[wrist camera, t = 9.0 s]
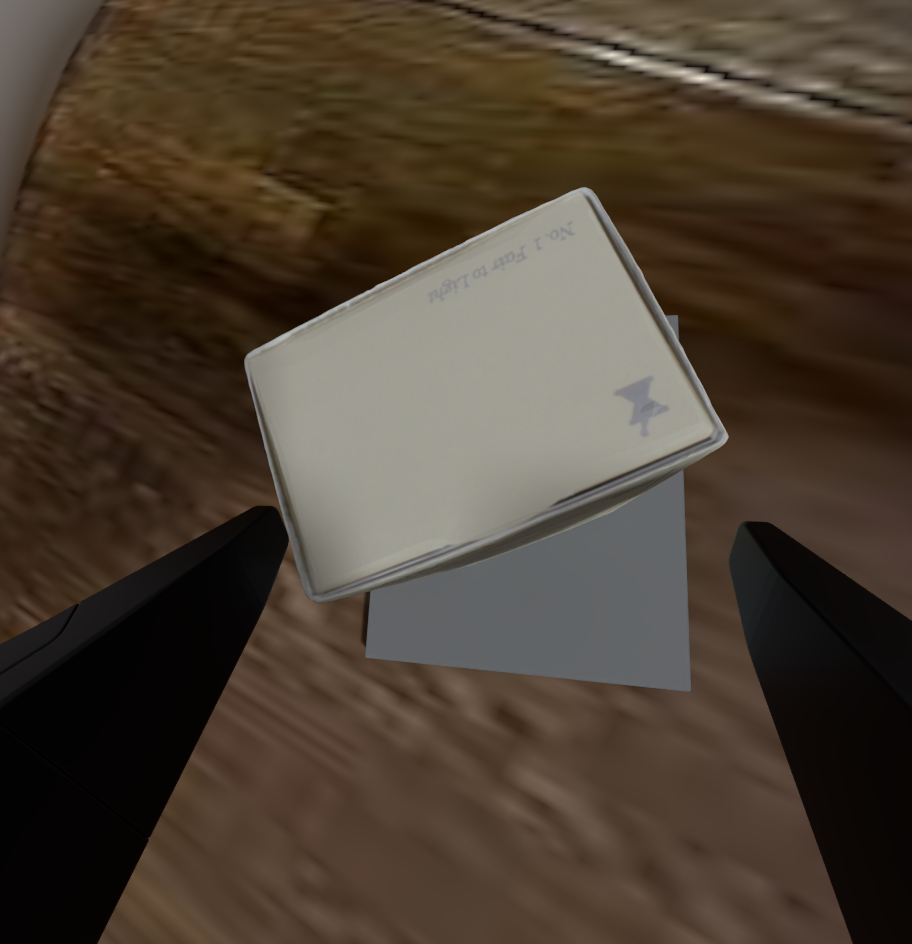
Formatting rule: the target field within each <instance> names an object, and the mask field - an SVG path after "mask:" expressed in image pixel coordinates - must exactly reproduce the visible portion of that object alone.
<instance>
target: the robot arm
mask: <svg viewBox="0 0 912 944" xmlns="http://www.w3.org/2000/svg"><path fill="white" fill-rule="evenodd" d="M288 542H289V537H288V533H287V530H286V528H285V526H284V523H283V521H282V518H281V516H280V514H279V511H278V510H277V509H276V508H275V507H273V506H255V507H253V508H251V509H249V510H247V511H245V512H244V513H242V514H240V515H238V516H236V517H234V518H233V519H231V520H229V521H227V522H225V523H224V524H222V525H220V526H218V527H216V528H214V529H213V530H211V531H209V532H207V533H205V534H203V535H202V536H200V537H198V538H196V539H194V540H192V541H191V542H189V543H187V544H185V545H183V546H182V547H180V548H178V549H176V550H174V551H172V552H171V553H169V554H167V555H165V556H163V557H161V558H160V559H158V560H156V561H154V562H152V563H151V564H149V565H147V566H145V567H143V568H141V569H140V570H138V571H136V572H134V573H132V574H130V575H129V576H127V577H125V578H123V579H121V580H119V581H118V582H116V583H114V584H112V585H110V586H109V587H107V588H105V589H103V590H101V591H99V592H98V593H96V594H94V595H92V596H90V597H88V598H87V599H85V600H83V601H81V602H80V604H76V605H74V606H72V607H70V608H68V609H66V610H65V611H63V612H61V613H59V614H57V615H55V616H54V617H52V618H50V619H48V620H46V621H44V622H42V623H40V624H39V625H37V626H35V627H33V628H31V629H29V630H27V631H25V632H24V633H22V634H20V635H18V636H16V637H14V638H12V639H10V640H8V641H6V642H4V643H2V644H0V944H97V943H98V941H99V939H100V937H101V935H102V933H103V931H104V929H105V927H106V925H107V923H108V921H109V919H110V917H111V915H112V913H113V911H114V909H115V907H116V905H117V903H118V901H119V899H120V897H121V895H122V893H123V891H124V889H125V887H126V885H127V883H128V881H129V879H130V877H131V875H132V873H133V871H134V869H135V867H136V865H137V863H138V861H139V859H140V857H141V855H142V853H143V851H144V849H145V847H146V845H147V843H148V841H149V839H148V838H149V837H150V836H151V834H152V832H153V830H154V828H155V826H156V824H157V822H158V820H159V818H160V816H161V814H162V812H163V810H164V808H165V806H166V804H167V802H168V800H169V798H170V796H171V794H172V792H173V790H174V788H175V786H176V784H177V782H178V780H179V778H180V776H181V774H182V772H183V770H184V768H185V766H186V764H187V762H188V760H189V758H190V756H191V754H192V752H193V750H194V748H195V746H196V744H197V742H198V740H199V738H200V736H201V734H202V732H203V730H204V728H205V726H206V724H207V722H208V720H209V718H210V716H211V714H212V712H213V710H214V708H215V706H216V704H217V702H218V700H219V698H220V696H221V694H222V692H223V690H224V688H225V686H226V684H227V682H228V680H229V678H230V676H231V674H232V672H233V670H234V668H235V666H236V664H237V662H238V660H239V658H240V656H241V654H242V652H243V650H244V648H245V646H246V644H247V642H248V640H249V638H250V636H251V634H252V632H253V630H254V628H255V626H256V624H257V622H258V620H259V618H260V616H261V613H262V611H263V609H264V607H265V604H266V602H267V600H268V597H269V595H270V592H271V589H272V587H273V584H274V581H275V579H276V576H277V573H278V571H279V568H280V565H281V563H282V560H283V557H284V555H285V552H286V550H287V547H288ZM729 567H730V572H731V577H732V581H733V586H734V590H735V595H736V599H737V604H738V608H739V612H740V617H741V621H742V626H743V630H744V635H745V639H746V643H747V647H748V650H749V653H750V656H751V659H752V662H753V665H754V668H755V671H756V674H757V677H758V679H759V682H760V685H761V688H762V691H763V693H764V696H765V699H766V702H767V705H768V707H769V710H770V713H771V716H772V719H773V721H774V724H775V727H776V730H777V733H778V735H779V738H780V741H781V744H782V747H783V749H784V752H785V755H786V758H787V761H788V763H789V766H790V769H791V772H792V775H793V777H794V780H795V783H796V786H797V789H798V791H799V794H800V797H801V800H802V803H803V805H804V808H805V811H806V814H807V817H808V819H809V822H810V825H811V828H812V831H813V833H814V836H815V839H816V842H817V845H818V847H819V850H820V853H821V856H822V859H823V861H824V864H825V867H826V870H827V873H828V875H829V878H830V881H831V884H832V887H833V889H834V892H835V895H836V898H837V901H838V903H839V906H840V909H841V912H842V915H843V918H844V920H845V923H846V926H847V929H848V932H849V934H850V937H851V940H852V943H853V944H912V621H911V620H910V619H908V618H907V617H905V616H904V615H903V614H901V613H900V612H898V611H897V610H895V609H894V608H892V607H891V606H890V605H888V604H887V603H885V602H884V601H882V600H881V599H879V598H878V597H877V596H875V595H874V594H872V593H871V592H869V591H868V590H866V589H865V588H864V587H862V586H861V585H859V584H858V583H856V582H855V581H853V580H852V579H851V578H849V577H848V576H846V575H845V574H843V573H842V572H841V571H839V570H838V569H836V568H835V567H833V566H832V565H830V564H829V563H828V562H826V561H825V560H823V559H822V558H820V557H819V556H817V555H816V554H815V553H813V552H812V551H810V550H809V549H807V548H806V547H804V546H803V545H802V544H800V543H799V542H797V541H796V540H794V539H793V538H791V537H790V536H789V535H787V534H786V533H784V532H783V531H781V530H780V529H779V528H777V527H776V526H774V525H773V524H771V523H768V522H752V521H745V522H743V523H741V524H740V526H739V528H738V531H737V534H736V537H735V540H734V543H733V547H732V550H731V553H730V558H729Z"/></svg>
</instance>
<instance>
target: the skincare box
mask: <svg viewBox="0 0 912 944" xmlns="http://www.w3.org/2000/svg"><path fill="white" fill-rule="evenodd" d="M244 363H245V370H246V374H247V378H248V382H249V386H250V390H251V393H252V397H253V401H254V405H255V409H256V413H257V418H258V422H259V426H260V430H261V433H262V437H263V441H264V446H265V450H266V453H267V457H268V462H269V466H270V470H271V473H272V476H273V479H274V484H275V488H276V492H277V496H278V500H279V504H280V508H281V511H282V515H283V519H284V522H285V525H286V529H287V532H288V536H289V539H290V542H291V546H292V550H293V554H294V558H295V562H296V566H297V569H298V573H299V576H300V579H301V583H302V586H303V590H304V592H305V595H306V596H307V597H308V598H309V599H310V600H312V601H315V602H317V603H324V602H330V601H334V600H338V599H342V598H346V597H350V596H354V595H358V594H361V593H365V592H369V591H373V590H376V589H380V588H384V587H388V586H392V585H396V584H400V583H404V582H407V581H411V580H415V579H419V578H422V577H426V576H430V575H434V574H438V573H442V572H446V571H450V570H454V569H458V568H462V567H466V566H470V565H474V564H476V563H479V562H482V561H485V560H488V559H491V558H493V557H496V556H499V555H502V554H505V553H508V552H511V551H513V550H516V549H519V548H521V547H524V546H527V545H530V544H532V543H535V542H538V541H540V540H543V539H546V538H548V537H551V536H554V535H556V534H559V533H562V532H564V531H567V530H569V529H572V528H574V527H577V526H580V525H582V524H585V523H587V522H589V521H592V520H594V519H597V518H599V517H602V516H604V515H607V514H609V513H611V512H613V511H615V510H616V509H618V508H620V507H621V506H623V505H625V504H627V503H628V502H630V501H632V500H633V499H635V498H636V497H638V496H640V495H641V494H643V493H645V492H646V491H648V490H650V489H651V488H653V487H655V486H656V485H658V484H660V483H661V482H663V481H665V480H667V479H668V478H670V477H672V476H673V475H675V474H676V473H678V472H680V471H681V470H683V469H685V468H686V467H688V466H690V465H692V464H693V463H695V462H697V461H698V460H700V459H701V458H703V457H705V456H706V455H708V454H709V453H711V452H713V451H714V450H716V449H718V448H720V447H721V446H722V445H723V444H725V442H726V441H727V439H728V437H729V436H728V434H727V432H726V430H725V428H724V427H723V425H722V423H721V421H720V419H719V418H718V416H717V414H716V413H715V411H714V409H713V407H712V405H711V403H710V401H709V398H708V396H707V394H706V392H705V390H704V388H703V386H702V384H701V382H700V381H699V379H698V377H697V375H696V373H695V371H694V369H693V367H692V366H691V364H690V362H689V361H688V359H687V356H686V354H685V352H684V350H683V348H682V346H681V345H680V343H679V342H678V339H677V337H676V335H675V332H674V330H673V329H672V327H671V326H670V324H669V322H668V320H667V318H666V317H665V315H664V313H663V311H662V310H661V308H660V306H659V304H658V302H657V301H656V299H655V297H654V295H653V293H652V291H651V290H650V288H649V286H648V284H647V282H646V280H645V279H644V276H643V274H642V271H641V270H640V268H639V267H638V265H637V264H636V262H635V260H634V258H633V257H632V255H631V253H630V251H629V250H628V248H627V246H626V244H625V243H624V241H623V240H622V238H621V236H620V235H619V233H618V231H617V230H616V228H615V226H614V225H613V223H612V221H611V220H610V218H609V216H608V215H607V213H606V212H605V210H604V208H603V206H602V205H601V203H600V201H599V199H598V197H597V196H596V195H595V193H594V192H593V191H592V190H590V189H588V188H586V187H583V188H579V189H577V190H574V191H571V192H569V193H567V194H565V195H563V196H561V197H559V198H557V199H554V200H552V201H550V202H547V203H545V204H543V205H540V206H538V207H537V208H535V209H532V210H530V211H528V212H526V213H523V214H521V215H519V216H516V217H514V218H512V219H510V220H508V221H506V222H504V223H502V224H500V225H498V226H496V227H494V228H492V229H490V230H488V231H486V232H484V233H482V234H480V235H478V236H475V237H473V238H471V239H469V240H467V241H465V242H464V243H462V244H460V245H458V246H456V247H454V248H452V249H449V250H447V251H445V252H443V253H441V254H439V255H437V256H435V257H433V258H431V259H429V260H427V261H425V262H423V263H421V264H419V265H416V266H414V267H413V268H411V269H409V270H408V271H406V272H404V273H402V274H400V275H398V276H396V277H394V278H392V279H390V280H388V281H386V282H383V283H381V284H378V285H376V286H375V287H374V288H373V289H371V290H368V291H366V292H364V293H363V294H360V295H358V296H356V297H354V298H352V299H351V300H348V301H346V302H344V303H342V304H340V305H338V306H336V307H334V308H332V309H330V310H328V311H327V312H325V313H323V314H322V315H320V316H318V317H316V318H314V319H312V320H310V321H308V322H306V323H304V324H302V325H300V326H298V327H296V328H294V329H293V330H291V331H289V332H287V333H285V334H282V335H280V336H279V337H277V338H275V339H273V340H272V341H270V342H268V343H266V344H264V345H262V346H261V347H259V348H256V349H254V350H253V351H251V352H250V353H248V354H247V356H246V358H245V360H244Z"/></svg>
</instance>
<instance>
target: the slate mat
mask: <svg viewBox="0 0 912 944" xmlns="http://www.w3.org/2000/svg"><path fill="white" fill-rule="evenodd" d="M665 317H666V318H667V320H668V322H669V324H670V326H671V327H672V329H673V330H674V332H675V335H676V337H677V339H678V342H679V335H678V315H673V316H665ZM365 658H374V659H383V660H393V661H403V662H412V663H422V664H431V665H441V666H450V667H460V668H469V669H479V670H488V671H498V672H507V673H517V674H526V675H536V676H545V677H555V678H565V679H574V680H584V681H593V682H603V683H612V684H622V685H631V686H641V687H650V688H660V689H669V690H679V691H688V692H691V680H690V652H689V623H688V594H687V565H686V537H685V508H684V479H683V470H681V471H680V472H678V473H676V474H675V475H673V476H672V477H670V478H668V479H667V480H665V481H663V482H661V483H660V484H658V485H656V486H655V487H653V488H651V489H650V490H648V491H646V492H645V493H643V494H641V495H640V496H638V497H636V498H635V499H633V500H632V501H630V502H628V503H627V504H625V505H623V506H621V507H620V508H618V509H616V510H615V511H613V512H611V513H609V514H607V515H604V516H602V517H599V518H597V519H594V520H592V521H589V522H587V523H585V524H582V525H580V526H577V527H574V528H572V529H569V530H567V531H564V532H562V533H559V534H556V535H554V536H551V537H548V538H546V539H543V540H540V541H538V542H535V543H532V544H530V545H527V546H524V547H521V548H519V549H516V550H513V551H511V552H508V553H505V554H502V555H499V556H496V557H493V558H491V559H488V560H485V561H482V562H479V563H476V564H474V565H470V566H466V567H462V568H458V569H454V570H450V571H446V572H442V573H438V574H434V575H430V576H426V577H422V578H419V579H415V580H411V581H407V582H404V583H400V584H396V585H392V586H388V587H384V588H380V589H376V590H373V591H370V604H369V617H368V630H367V643H366V656H365Z"/></svg>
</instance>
